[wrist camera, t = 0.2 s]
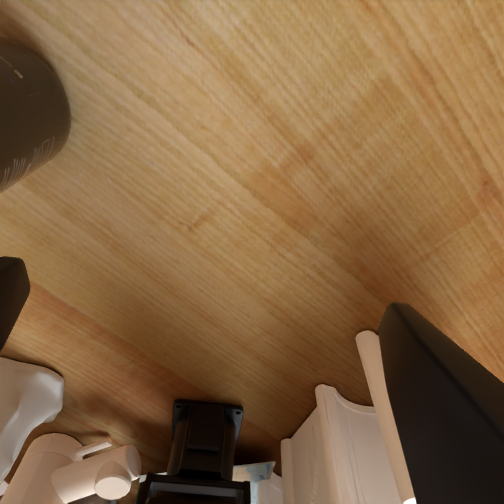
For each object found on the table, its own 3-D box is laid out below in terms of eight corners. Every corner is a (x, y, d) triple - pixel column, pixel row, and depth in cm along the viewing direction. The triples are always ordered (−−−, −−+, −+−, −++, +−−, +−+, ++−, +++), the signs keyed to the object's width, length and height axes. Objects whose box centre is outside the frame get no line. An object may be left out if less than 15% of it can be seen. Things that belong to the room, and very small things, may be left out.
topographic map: (138, 476, 35) (140, 458, 36) (140, 533, 42) (141, 516, 44) (277, 466, 38) (274, 449, 39) (256, 521, 45) (254, 505, 47)
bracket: (325, 492, 43) (345, 640, 33) (247, 474, 42) (242, 624, 31) (470, 355, 31) (573, 526, 21) (367, 320, 29) (424, 489, 19)
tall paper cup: (-15, 616, 30) (44, 480, 40) (134, 566, 29) (153, 443, 40) (-64, 574, 27) (13, 442, 38) (98, 518, 27) (129, 401, 38)
